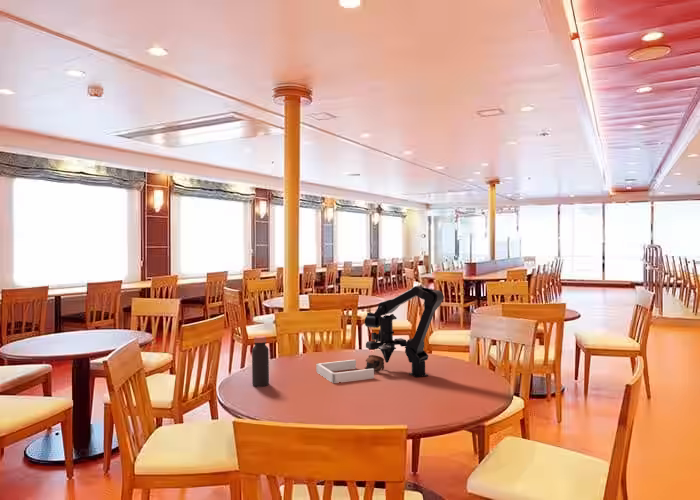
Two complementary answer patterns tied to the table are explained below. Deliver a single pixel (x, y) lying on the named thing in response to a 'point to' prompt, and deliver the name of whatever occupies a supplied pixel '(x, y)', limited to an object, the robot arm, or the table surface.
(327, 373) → the frame
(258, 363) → the bottle
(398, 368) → the table surface
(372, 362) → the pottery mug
